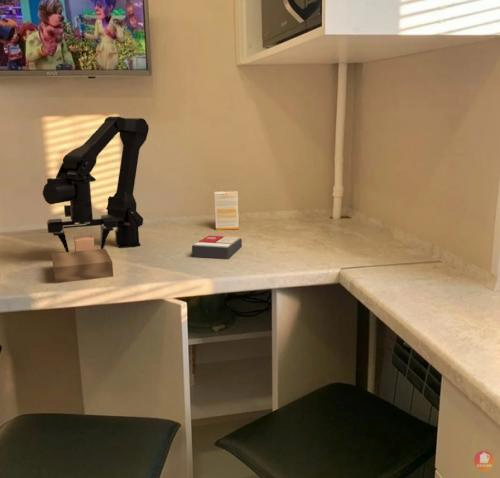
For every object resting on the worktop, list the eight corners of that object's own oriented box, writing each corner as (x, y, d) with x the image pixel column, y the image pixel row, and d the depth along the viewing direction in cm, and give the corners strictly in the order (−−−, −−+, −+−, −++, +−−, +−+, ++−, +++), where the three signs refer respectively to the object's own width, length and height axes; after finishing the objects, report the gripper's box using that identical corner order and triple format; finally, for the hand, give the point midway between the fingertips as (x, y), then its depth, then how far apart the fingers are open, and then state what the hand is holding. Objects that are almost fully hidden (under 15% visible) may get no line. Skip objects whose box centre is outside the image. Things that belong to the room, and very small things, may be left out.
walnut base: (106, 262, 153) (105, 248, 152) (113, 276, 141) (112, 261, 140) (53, 268, 148) (51, 253, 148) (55, 283, 136) (53, 267, 135)
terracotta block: (93, 255, 161) (92, 235, 160) (95, 259, 157) (93, 239, 155) (75, 257, 159) (74, 237, 158) (77, 261, 155) (75, 240, 153)
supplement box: (238, 226, 197) (237, 190, 194) (238, 229, 192) (238, 192, 189) (215, 227, 197) (214, 190, 194) (215, 230, 192) (214, 192, 189)
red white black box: (242, 236, 169) (228, 245, 154) (242, 249, 170) (228, 260, 155) (207, 234, 171) (191, 243, 157) (208, 247, 172) (191, 257, 158)
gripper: (110, 192, 165) (114, 243, 168) (44, 197, 158) (49, 249, 162) (116, 198, 154) (119, 252, 158) (45, 203, 148) (50, 259, 152)
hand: (85, 252), depth 158 cm, fingers open, 9 cm apart
